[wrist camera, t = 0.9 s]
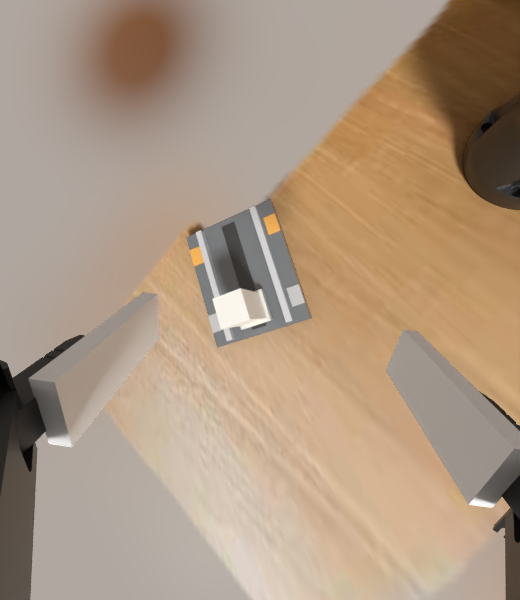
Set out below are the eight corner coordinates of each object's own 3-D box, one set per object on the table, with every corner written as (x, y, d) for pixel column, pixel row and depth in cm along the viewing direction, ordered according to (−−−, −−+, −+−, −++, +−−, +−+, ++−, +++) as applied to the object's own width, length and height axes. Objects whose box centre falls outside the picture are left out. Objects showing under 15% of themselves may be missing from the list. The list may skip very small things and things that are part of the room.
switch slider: (263, 289, 39) (243, 282, 30) (272, 319, 38) (255, 322, 29) (235, 299, 40) (207, 296, 31) (243, 329, 39) (218, 334, 31)
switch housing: (274, 206, 42) (268, 195, 38) (311, 318, 40) (309, 318, 36) (195, 242, 46) (182, 235, 42) (224, 345, 44) (213, 348, 40)
